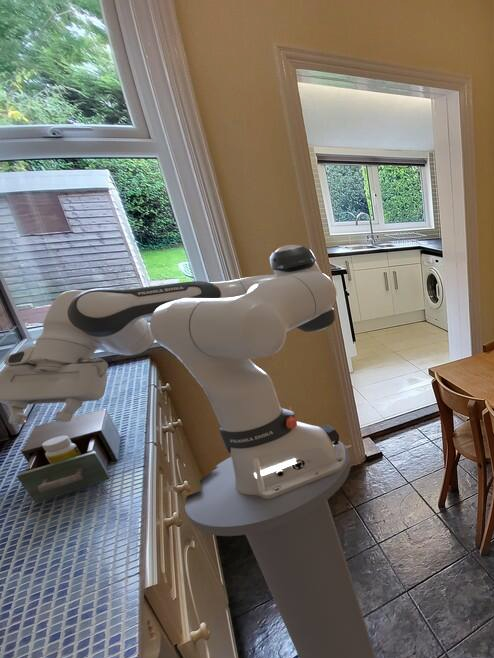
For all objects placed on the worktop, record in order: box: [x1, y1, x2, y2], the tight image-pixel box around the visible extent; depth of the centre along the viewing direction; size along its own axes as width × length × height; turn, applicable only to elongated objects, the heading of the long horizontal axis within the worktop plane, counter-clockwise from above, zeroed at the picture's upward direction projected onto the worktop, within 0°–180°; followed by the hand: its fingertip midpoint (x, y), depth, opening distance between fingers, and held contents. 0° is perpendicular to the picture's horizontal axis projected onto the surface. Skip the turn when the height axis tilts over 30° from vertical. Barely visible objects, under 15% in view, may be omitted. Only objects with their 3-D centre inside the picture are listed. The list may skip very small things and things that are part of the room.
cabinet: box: [20, 408, 122, 465], centre depth 97 cm, size 15×13×9 cm
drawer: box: [16, 434, 111, 504], centre depth 87 cm, size 18×11×7 cm, turn 39°
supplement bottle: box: [42, 436, 82, 464], centre depth 88 cm, size 5×5×8 cm
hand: (39, 422), depth 83 cm, fingers open, 8 cm apart
